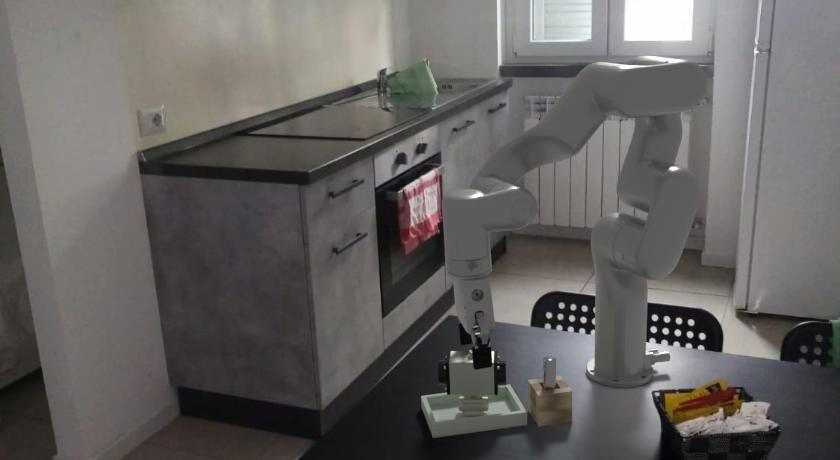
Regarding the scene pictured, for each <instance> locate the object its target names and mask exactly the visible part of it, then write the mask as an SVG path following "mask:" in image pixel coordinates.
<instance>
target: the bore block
mask: <svg viewBox="0 0 840 460" xmlns="http://www.w3.org/2000/svg"><path fill="white" fill-rule="evenodd" d="M527 405H528V407H527V411H528V412H529V413H530V415H531V417H532V419H533V421H534V422H535V424H536V425H537V426H538V428H541V427H549V426H550V427H551V426H555V425H562V424H569V423H573V390H572V389H571V388H570V386H569V385H568V383H566V381H565V380H564V378H563V377H562V376H561V375H556V389H552V390H545V391H544V390H543V377H541V378H540V377H539V378H534V379H533V378H532V379H528V380H527Z"/></svg>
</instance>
